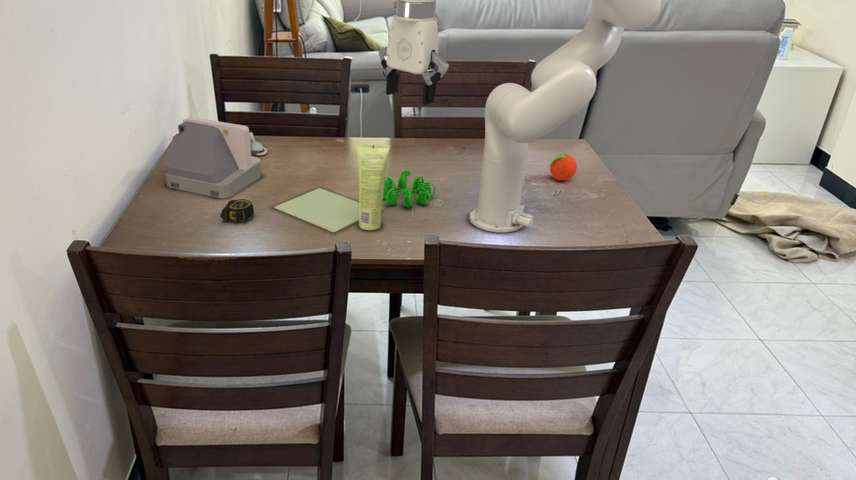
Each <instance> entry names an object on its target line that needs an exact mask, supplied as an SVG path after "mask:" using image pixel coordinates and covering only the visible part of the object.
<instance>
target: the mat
mask: <svg viewBox="0 0 856 480" xmlns="http://www.w3.org/2000/svg"><path fill="white" fill-rule="evenodd" d="M273 209H275V210H278V211H280V212H282V213H284V214H287V215H290V216H293V217H294V218H297V219H299V220H302V221H304V222H307V223H310V224H311V225H315V226H316V227H319V228H322V229H324V230H326V231H329V232H331V233H337V232H339V231H341V230H344V229H345V228H347V227H349V226H351V225H353V224H355V223H359V201H356V200H354V199H351V198H348V197H345V196H343V195H340V194H337V193H334V192H331V191H329V190H326V189H324V188H322V187H321V188H320V187H318V188H316V189H313V190H312V191H309V192H306V193H305V194H302V195H298V196H297V197H294V198H292V199H290V200H287V201H285V202H282V203H280V204H277V205H275V206H273Z"/></svg>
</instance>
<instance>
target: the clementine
mask: <svg viewBox="0 0 856 480" xmlns="http://www.w3.org/2000/svg"><path fill="white" fill-rule="evenodd" d="M577 170H578V164H577V161H576V159H575V158H574V157H573V156H571V155H570V154H566V153H561V154H558V155H557V156H555V157H554V158H553V159H552V160H551V162H550V164H549V171H550V175H551V176H552V177H553V178H554V179H555V180H556V181H568V180H570V179H572V178H573V177H574V176H575V175H576V173H577Z"/></svg>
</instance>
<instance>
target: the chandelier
mask: <svg viewBox="0 0 856 480" xmlns="http://www.w3.org/2000/svg"><path fill="white" fill-rule="evenodd" d="M411 174H412V173H411V171H409V170H402V171H401V173H400V176H399V177H398V180H397V186H396V182H395V180H394V179H393V178H392V177H390V176H385V183H384V192H383V200H385V204H386V205H387V206H389V207H392V206H394V205H395V204H396V203H397V201H398V198H399V195H401V194H404V196H403V206H404V207H406V209H411V207H412V206H413V201H414V197H415V200H416V202H417V203H418V204H419V205H421V206H426V205H429V203H430V202H431V198H432V197H433V196H434V195H435V193H436V187H435V185H434V184H433V183H432V182H430V181H425V180H424V177H423V176H421V175H418V176H416V177H415V178H414V180H413V182H412V186H411V187H409V188H407V183H408V180H407V177H410V176H411ZM432 187H433V192H432ZM413 195H414V197H413Z"/></svg>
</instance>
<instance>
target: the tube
mask: <svg viewBox="0 0 856 480" xmlns="http://www.w3.org/2000/svg"><path fill="white" fill-rule="evenodd" d="M390 151H391V144H388V145H387V144H365V143H363V144H362V143H355V155H356V165H357V179H358V202H359V221H358V226H359V228H360V229H361V230H365V231H376V230H379V229H380V228H381V225H382V214H383V213H382V211H383V210H382V209H383V201H384V199H383V192H384V183H385V180H386V178H385V177H386V176H387V175H386V174H387V167H388V161H389V156H390Z"/></svg>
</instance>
